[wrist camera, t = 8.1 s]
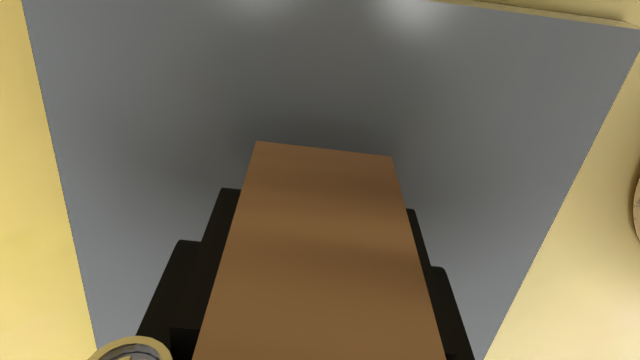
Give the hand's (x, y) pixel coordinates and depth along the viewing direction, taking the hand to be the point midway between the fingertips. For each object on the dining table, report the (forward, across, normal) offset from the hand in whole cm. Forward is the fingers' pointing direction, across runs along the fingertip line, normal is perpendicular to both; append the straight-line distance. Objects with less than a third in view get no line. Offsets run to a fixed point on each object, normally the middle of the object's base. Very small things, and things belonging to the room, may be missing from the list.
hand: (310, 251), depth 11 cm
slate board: (+3, 0, +4) cm, 6 cm away
